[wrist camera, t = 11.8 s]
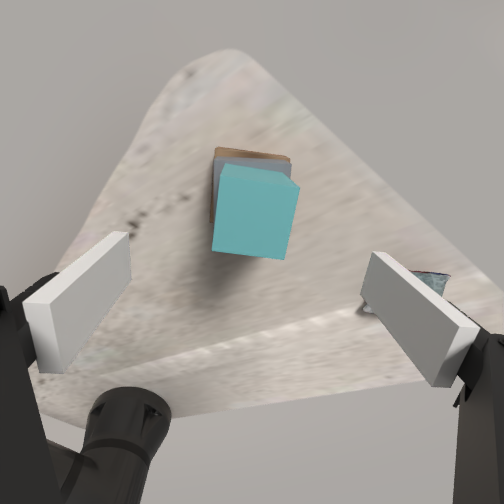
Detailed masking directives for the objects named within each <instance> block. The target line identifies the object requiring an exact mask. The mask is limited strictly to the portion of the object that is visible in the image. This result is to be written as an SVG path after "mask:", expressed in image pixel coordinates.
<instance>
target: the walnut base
mask: <svg viewBox="0 0 504 504" xmlns="http://www.w3.org/2000/svg"><path fill="white" fill-rule="evenodd" d="M217 156H223V157H241V158H260V159H278V160H285V161H287V162H289V163H290V158H288V157H286V156H282V155H275V154H268V153H260V152H253V151H246V150H238V149H231V148H223V147H217V148H215V156H214V159H215V158H216V157H217ZM210 222H211V223H214V169H213V183H212V196H211V209H210Z"/></svg>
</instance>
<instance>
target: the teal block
mask: <svg viewBox="0 0 504 504" xmlns="http://www.w3.org/2000/svg"><path fill="white" fill-rule="evenodd" d="M299 190H300V187H299V186H297V185H296V184H295V183H294V182H293V181H292V180H291V179H289V178H288V177H287V176H286V175H285V174H284V173H282V172H276V171H270V170H264V169H257V168H251V167H245V166H239V165H232V164H226V163H225V165H224V167H223V170H222V172H221V175H220V182H219V191H218V200H217V209H216V217H215V226H214V235H213V244H212V251H217V252H225V253H233V254H241V255H249V256H257V257H264V258H272V259H280V260H284V258H285V254H286V249H287V245H288V240H289V236H290V231H291V227H292V222H293V218H294V213H295V208H296V204H297V199H298V195H299Z"/></svg>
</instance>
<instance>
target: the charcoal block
mask: <svg viewBox="0 0 504 504" xmlns="http://www.w3.org/2000/svg"><path fill="white" fill-rule="evenodd" d="M225 163H226V164H232V165H239V166H245V167H251V168H257V169H264V170H270V171H276V172H282V173H284V174H285V175H286V176H287V177H288V178H289V179H290V175H291V166H292V164H291V163H289V162H287V161H285V160H278V159H260V158H241V157H223V156H217V157H216V158H215V159H214V226H215V217H216V209H217V200H218V191H219V182H220V175H221V172H222V170H223V167H224V165H225Z"/></svg>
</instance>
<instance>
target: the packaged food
mask: <svg viewBox="0 0 504 504" xmlns="http://www.w3.org/2000/svg"><path fill="white" fill-rule="evenodd" d="M408 271H410V270H408ZM410 272H411V273H412V274H413V275H415V276H416V277H417V278H418V279H420V280H421V281H422V282H423V283H425V284H426V285H427V286H428V287H430V288H431V289H432V290H433V291H435V292H436V293H437V294H439V295H440V296H441V297H442V295H443V291H444V288H445V284H446V282H447V281H448V279H449V278H450V277H451V276H450V275H448V274H441V273H434V272H421V271H410ZM362 310H363V311H365V312H367V313H374V312H373V310H372V309H371V308H370V306H369V305H368V304H367V305H365V307H363V309H362ZM374 314H375V313H374Z"/></svg>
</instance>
